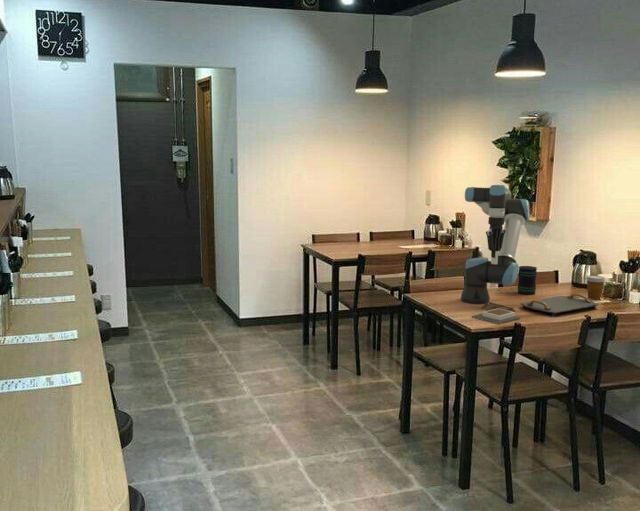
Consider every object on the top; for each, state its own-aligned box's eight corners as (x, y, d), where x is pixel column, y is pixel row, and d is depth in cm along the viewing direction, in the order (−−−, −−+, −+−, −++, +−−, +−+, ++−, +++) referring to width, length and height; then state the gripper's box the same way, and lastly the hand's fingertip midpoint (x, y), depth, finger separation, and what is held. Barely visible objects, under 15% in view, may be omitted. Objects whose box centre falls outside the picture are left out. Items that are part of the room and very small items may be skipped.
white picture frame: (482, 311, 304) (497, 308, 311) (482, 315, 304) (497, 312, 312) (499, 316, 296) (515, 312, 304) (499, 320, 297) (514, 316, 304)
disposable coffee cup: (586, 299, 341) (587, 278, 339) (583, 295, 350) (585, 274, 348) (605, 300, 339) (606, 279, 337) (601, 296, 348) (603, 275, 346)
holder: (482, 309, 320) (482, 304, 320) (492, 306, 325) (492, 301, 324) (505, 314, 309) (505, 309, 309) (515, 312, 314) (515, 307, 314)
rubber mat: (471, 317, 304) (471, 316, 304) (492, 312, 314) (492, 311, 314) (499, 324, 292) (499, 323, 292) (519, 318, 302) (519, 317, 301)
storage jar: (534, 291, 360) (536, 266, 358) (536, 295, 351) (537, 269, 348) (516, 290, 362) (518, 265, 360) (517, 294, 353) (519, 268, 351)
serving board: (565, 300, 342) (565, 289, 341) (602, 309, 323) (603, 297, 322) (515, 308, 323) (515, 297, 322) (552, 319, 303) (552, 306, 302)
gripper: (494, 218, 301) (492, 266, 305) (511, 216, 309) (508, 263, 312) (481, 216, 306) (479, 264, 310) (498, 215, 314) (496, 261, 318)
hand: (494, 263), depth 311 cm, fingers closed
